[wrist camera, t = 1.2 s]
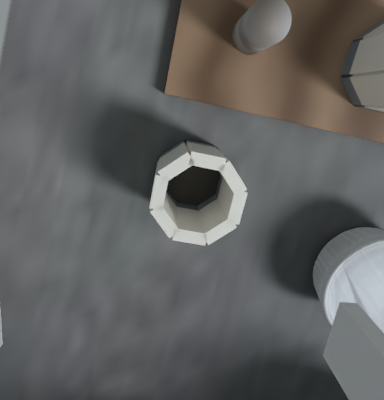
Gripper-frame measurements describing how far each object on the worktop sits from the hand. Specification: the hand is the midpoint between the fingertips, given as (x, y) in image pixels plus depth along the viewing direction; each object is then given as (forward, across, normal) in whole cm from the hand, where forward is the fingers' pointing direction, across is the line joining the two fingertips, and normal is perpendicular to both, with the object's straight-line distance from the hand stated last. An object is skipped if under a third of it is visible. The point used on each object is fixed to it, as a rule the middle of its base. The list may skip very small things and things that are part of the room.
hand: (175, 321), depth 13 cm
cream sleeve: (+20, -2, 0) cm, 20 cm away
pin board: (+20, -12, -13) cm, 26 cm away
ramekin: (+20, -21, +7) cm, 29 cm away
